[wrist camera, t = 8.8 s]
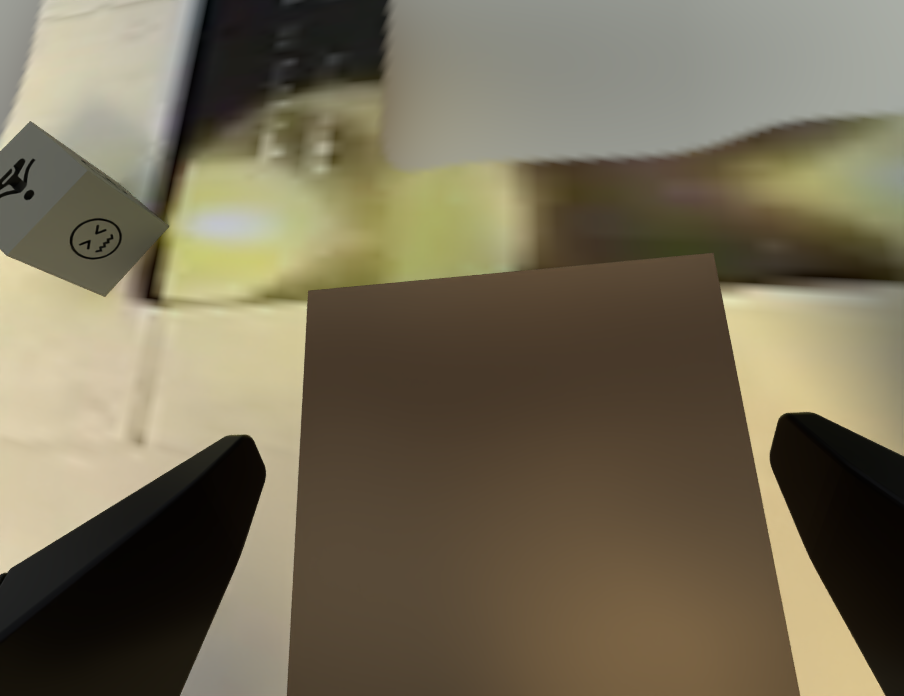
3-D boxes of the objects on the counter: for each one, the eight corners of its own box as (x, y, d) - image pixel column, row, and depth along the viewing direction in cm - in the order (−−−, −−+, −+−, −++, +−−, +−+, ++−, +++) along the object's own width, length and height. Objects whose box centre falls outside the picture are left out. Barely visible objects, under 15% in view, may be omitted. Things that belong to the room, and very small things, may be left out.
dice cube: (118, 183, 27) (30, 120, 22) (170, 227, 26) (87, 170, 21) (56, 248, 27) (-47, 199, 22) (106, 297, 25) (6, 255, 20)
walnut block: (626, 575, 15) (814, 766, 5) (435, 576, 15) (284, 741, 6) (604, 384, 16) (713, 253, 7) (431, 394, 17) (308, 290, 7)
